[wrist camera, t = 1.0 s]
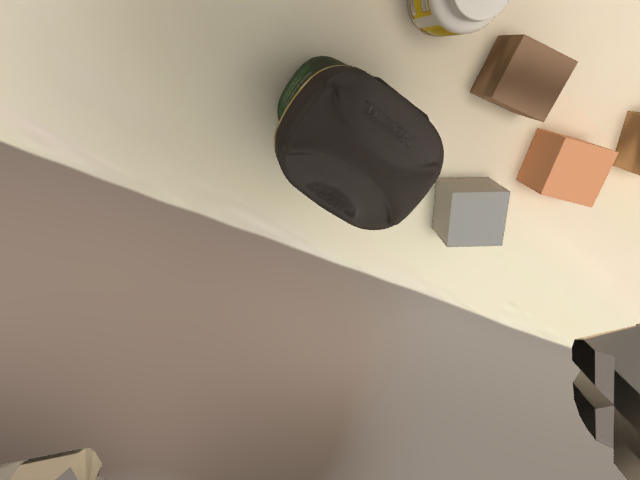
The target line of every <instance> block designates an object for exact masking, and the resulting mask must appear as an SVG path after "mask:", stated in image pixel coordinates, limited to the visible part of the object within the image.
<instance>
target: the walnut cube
mask: <svg viewBox="0 0 640 480" xmlns="http://www.w3.org/2000/svg"><path fill="white" fill-rule="evenodd" d="M577 63H578V61H576V60H574V59H572V58H570V57H568V56H566V55H564V54H562V53H560V52H558V51H556V50H554V49H552V48H550V47H548V46H546V45H544V44H542V43H540V42H538V41H536V40H534V39H532V38H530V37H528V36H526V35H502V36H498V37H497V39H496V41H495V43H494V45H493V47H492V49H491V51H490V53H489V55H488V57H487V59H486V61H485V63H484V65H483V67H482V69H481V71H480V73H479V75H478V77H477V79H476V81H475V83H474V85H473V87H472V89H471V91H470V92H471V93H473V94H475V95H477V96H479V97H482V98H484V99H486V100H488V101H490V102H492V103H494V104H497V105H499V106H501V107H503V108H505V109H507V110H509V111H512V112H514V113H516V114H518V115H522V116H525V117H528V118H532V119H535V120H538V121H542V122H544V121H545V119H546V117H547V115H548V114H549V112H550V110H551V108H552V107H553V105H554V103H555V101H556V100H557V98H558V96H559V94H560V93H561V91H562V89H563V87H564V86H565V84H566V82H567V80H568V79H569V77H570V75H571V73H572V71H573V70H574V68H575V66H576V64H577Z"/></svg>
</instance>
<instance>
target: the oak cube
mask: <svg viewBox="0 0 640 480" xmlns="http://www.w3.org/2000/svg"><path fill="white" fill-rule="evenodd" d="M616 152H619V153H618V155H617V157H616V159H615V161H614V163H613V166H616V167H619V168H621V169H624V170H627V171H629V172H632V173H635V174H638V175H640V112H632V111H628V112H627V116H626V119H625V122H624V125H623V128H622V132H621V135H620V138H619V141H618V145H617V148H616Z"/></svg>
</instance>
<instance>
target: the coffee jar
mask: <svg viewBox="0 0 640 480" xmlns="http://www.w3.org/2000/svg"><path fill="white" fill-rule="evenodd" d="M278 119H279V123H278V125H277V128H276V132H275V137H274V148H275V153H276V156H277V159H278V162H279V164H280V167H281V169H282V171H283V173H284V175H285V176H286V178H287V179H288V181H289V182H290V183H291V184H292V185H293V186H294V187H295V188H297V189H298V190H299V191H300V192H302V193H303V194H304V195H306V196H307V197H308V198H310V199H311V200H312V201H314V202H315V203H316V204H318V205H319V206H321V207H322V208H324V209H325V210H327V211H328V212H330V213H332V214H333V215H335V216H337V217H339V218H340V219H342V220H344V221H346V222H347V223H349V224H351V225H353V226H355V227H358V228H361V229H367V230H381V229H386V228H389V227H392V226H394V225H397V224H399V223H400V222H401V221H402V220H403V219H405V218H406V217H407V216H408V215H409V214H410V213H411V212H412V210H413V209H414V208H415V207H416V206H417V205H418V204H419V203H420V201H421V200H422V199H423V198H424V197H425V195H426V194H427V193H428V191H429V190H430V188H431V187H432V186H433V184H434V183H435V181H436V180H437V178H438V176H439V174H440V172H441V168H442V164H443V157H444V150H443V145H442V141H441V138H440V136H439V134H438V132H437V130H436V129H435V127H434V126H433V125H432V123H431V122H430V121H429V118H428V116H427V115H426V114H425V113H424V112H422V111H421V110H420V109H418V108H417V107H416V106H414V105H413V104H412V103H411V102H409V101H408V100H407V99H406V98H404V97H403V96H402V95H400V94H399V93H398V92H397V91H395V90H394V89H393V88H392V87H391V86H389V85H388V84H387V83H386V82H384V81H383V80H382V79H381V78H378V77H373V76H371V75H369V74H368V73H366V72H365V71H363V70H361V69H358V68H356V67H352V66H348V65H346V64H344V63H342V62H340V61H338V60H336V59H334V58H331V57H326V56H319V57H315V58H312V59H310V60H308V61H307V62H305V63H304V64H303V65H302V66H301V67H300V68H299V69H298V70H297V71H296V73H295V74H294V75H293V77H292V78H291V80H290V81H289V83H288V84H287V86H286V87H285V89H284V91H283V93H282V95H281V97H280V100H279V104H278Z"/></svg>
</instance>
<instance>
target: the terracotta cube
mask: <svg viewBox="0 0 640 480" xmlns="http://www.w3.org/2000/svg"><path fill="white" fill-rule="evenodd" d="M618 153H619V152H616V151H613V150H610V149H607V148H604V147H601V146H598V145H595V144H592V143H589V142H585V141H582V140H578V139H575V138H571V137H568V136H564V135H561V134H557V133H554V132H550V131H546V130H543V129H539V128H537V131H536V133H535V136H534V138H533V140H532V143H531V145H530V148H529V150H528V152H527V155H526V157H525V159H524V162H523V164H522V167H521V169H520V171H519V174H518V176H517V179H516V180H518V181H519V182H521V183H523V184H524V185H526V186H528V187H530V188H531V189H533V190H535V191H536V192H538V193H540V194H542V195H546V196H550V197H554V198H557V199H561V200H565V201H569V202H573V203H577V204H581V205H584V206H588V207H592V206H593V204H594V202H595V200H596V198H597V196H598V194H599V192H600V190H601V188H602V186H603V184H604V182H605V180H606V178H607V176H608V174H609V172H610V170H611V167H612V165H613V163H614V161H615V159H616V157H617V155H618Z"/></svg>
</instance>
